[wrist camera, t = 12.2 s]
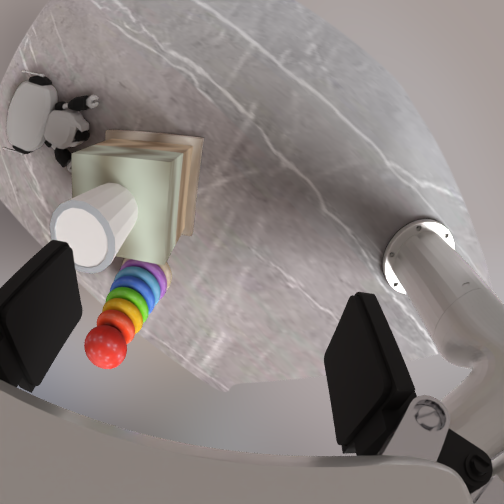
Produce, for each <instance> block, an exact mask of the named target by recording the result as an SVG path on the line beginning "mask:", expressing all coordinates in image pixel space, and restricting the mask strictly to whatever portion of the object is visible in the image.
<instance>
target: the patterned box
mask: <svg viewBox="0 0 504 504" xmlns="http://www.w3.org/2000/svg"><path fill="white" fill-rule="evenodd" d="M203 142H204V138H201V137H193V136H185V135H176V134H166V133H155V132H143V131H128V130H106V132H105V141H103V142H100V143H98V144H95V145H92V146H90V147H87V148H84V149H82V150H79V151H77V152H74V153H72V198H74V197H76V196H78V195H80V194H83V193H85V192H87V191H89V190H91V189H94V188H96V187H98V186H100V185H103V184H106V183H117V184H120V185H122V186H123V187H125V188H127V189H128V190H129V191H130V193H131V194H132V195H133V196H134V198H135V201H136V204H137V206H138V218H137V220H136V222H135V225H134V227H133V228H132V230H131V231H130V233H129V235H128V236H127V238H126V239H125V241H124V243H123V244H122V246H121V248H120V249H119V251H118V253H117V254H116V256H117V257H122V258H128V259H133V260H138V261H143V262H149V263H154V264H160V265H165V263H166V261H167V260H168V258H169V256H170V254H171V252H172V250H173V248H174V247H175V245H176V243H177V241H178V239H179V237H180V236H181V235H187V236H192V234H193V228H194V218H195V208H196V199H197V190H198V181H199V173H200V165H201V157H202V149H203Z"/></svg>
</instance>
